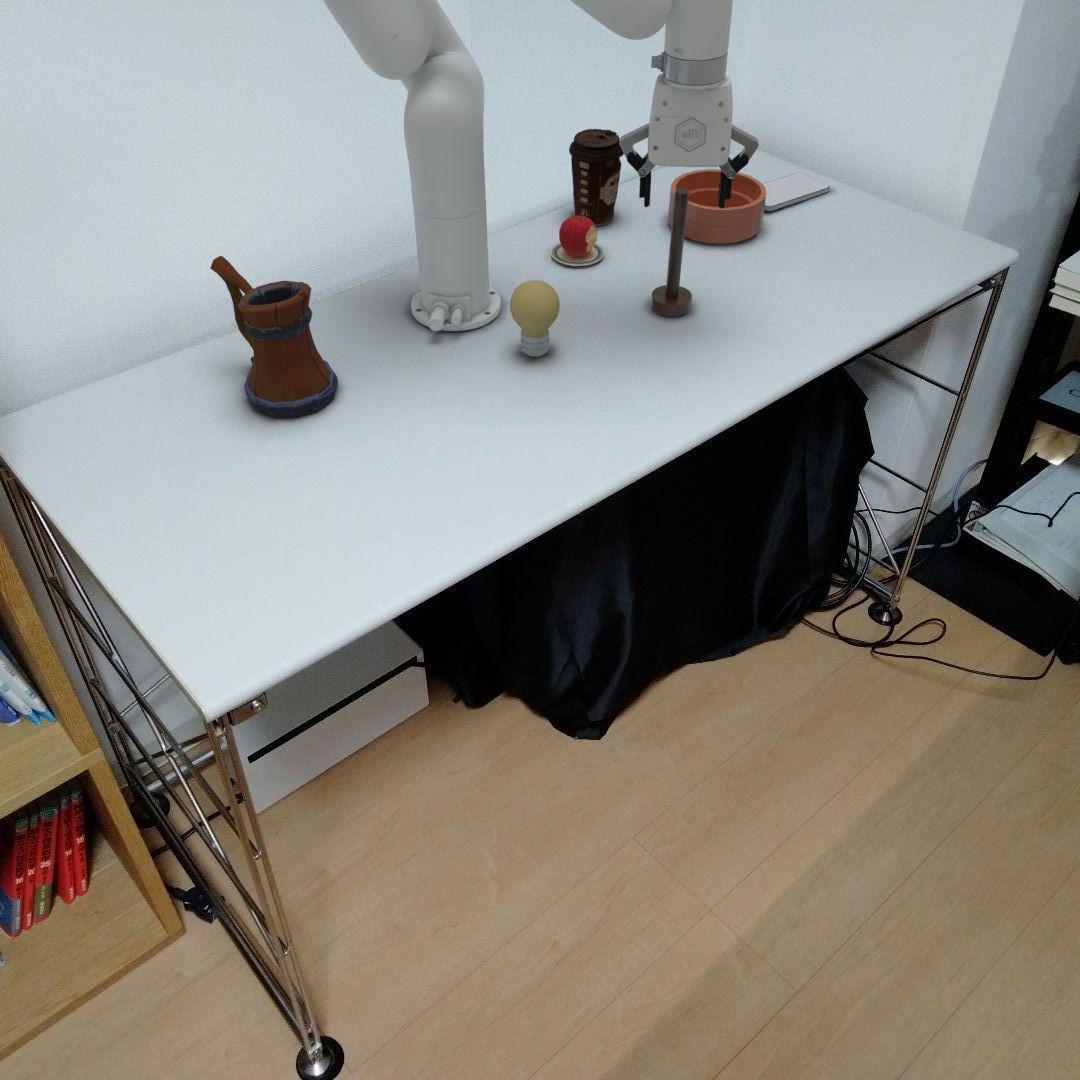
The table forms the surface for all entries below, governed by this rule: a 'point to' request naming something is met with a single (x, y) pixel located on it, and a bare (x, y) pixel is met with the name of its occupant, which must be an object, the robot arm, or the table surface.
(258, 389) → the mug
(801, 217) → the table surface
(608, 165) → the coffee cup
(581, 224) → the red apple in dish
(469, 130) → the robot arm
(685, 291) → the dowel on round base
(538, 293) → the light bulb
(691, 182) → the bowl
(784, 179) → the smartphone
